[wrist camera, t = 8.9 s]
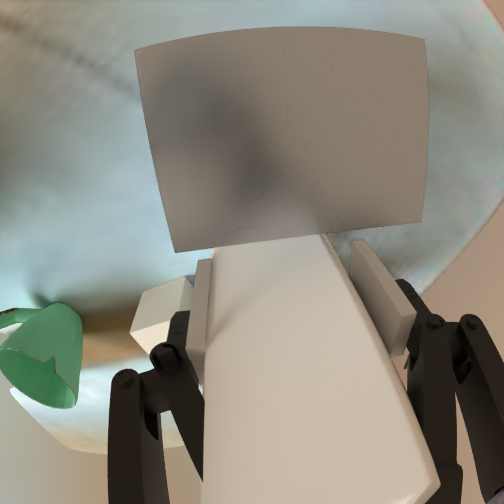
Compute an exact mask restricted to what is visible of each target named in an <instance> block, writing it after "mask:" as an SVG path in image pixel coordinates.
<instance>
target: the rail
mask: <svg viewBox="0 0 504 504" xmlns="http://www.w3.org/2000/svg"><path fill="white" fill-rule="evenodd" d="M134 53H135V60H136V67H137V74H138V81H139V87H140V94H141V100H142V106H143V112H144V117H145V123H146V128H147V133H148V139H149V144H150V149H151V154H152V159H153V163H154V168H155V173H156V177H157V182H158V186H159V191H160V195H161V199H162V203H163V208H164V212H165V216H166V220H167V224H168V228H169V232H170V236H171V240H172V243H173V247H174V251H175V253H178V252H186V251H193V250H201V249H208V248H216V247H224V246H231V245H239V244H246V243H254V242H262V241H270V240H278V239H285V238H293V237H301V236H309V235H317V234H325V233H333V232H341V231H350V230H358V229H366V228H374V227H383V226H391V225H400V224H408V223H417V222H421V216H422V209H423V200H424V191H425V181H426V169H427V153H428V121H429V107H428V76H427V61H426V50H425V40H424V39H421V38H416V37H411V36H405V35H399V34H393V33H386V32H379V31H371V30H362V29H351V28H336V27H269V28H254V29H243V30H233V31H225V32H217V33H211V34H204V35H198V36H192V37H187V38H182V39H177V40H172V41H168V42H163V43H159V44H155V45H151V46H147V47H143V48H140V49H136V50H134Z"/></svg>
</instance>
